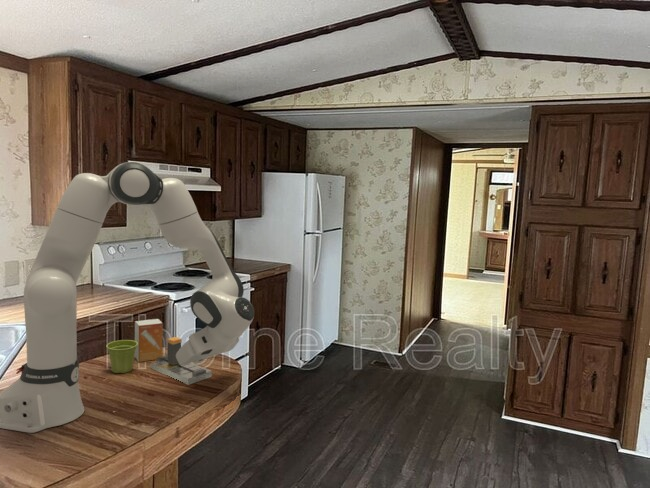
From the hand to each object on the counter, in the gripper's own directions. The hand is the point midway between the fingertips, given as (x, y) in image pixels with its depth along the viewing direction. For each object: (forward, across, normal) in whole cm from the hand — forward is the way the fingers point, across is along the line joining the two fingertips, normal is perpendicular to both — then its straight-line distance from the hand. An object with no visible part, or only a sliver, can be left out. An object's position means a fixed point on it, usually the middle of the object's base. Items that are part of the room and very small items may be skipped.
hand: (197, 361), depth 148 cm
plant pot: (+21, +11, -12) cm, 27 cm away
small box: (+24, -1, -15) cm, 28 cm away
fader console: (+10, 0, -2) cm, 10 cm away
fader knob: (+11, 0, -6) cm, 13 cm away
